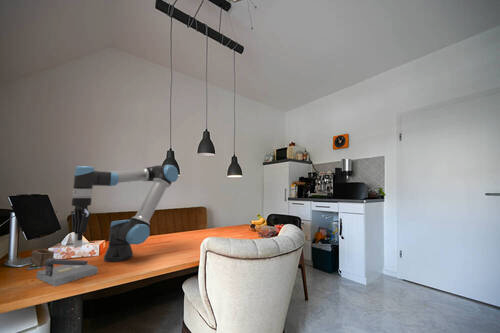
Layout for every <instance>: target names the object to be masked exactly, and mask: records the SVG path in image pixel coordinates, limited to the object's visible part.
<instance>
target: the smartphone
mask: <svg viewBox="0 0 500 333" xmlns="http://www.w3.org/2000/svg"><path fill="white" fill-rule="evenodd" d="M41 269H42V270H43V269H46V266H44V267H38V266H36V265H34V264H32V265H31V264H30V266H29V267H27V268H25V271H32V270H41Z"/></svg>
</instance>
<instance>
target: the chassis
mask: <svg viewBox="0 0 500 333" xmlns="http://www.w3.org/2000/svg"><path fill="white" fill-rule="evenodd" d="M54 265H55V264H52V265H47V266H46V268H44V269H42V270H41V269H40V270H37V272H36V277H35V278H36V279H38V280H40V281H43V282H44V283H47V284H49V285H51V286H53V287H58V286H61V285H64V284H65V285H66V284H68V283H71V282H74V280H75V281H77V280H76V279H78V280H80V279H79V278H81V279H83V278H82V277H85V278H87V277H86V276H88V277H90V275H91V276H94V275H97V274H98V272H99V267H97V266H95V265H91V264H89V263H87V265H85V266H81V265H58V266H57V265H56V266H54ZM96 273H97V274H96ZM93 274H94V275H93Z"/></svg>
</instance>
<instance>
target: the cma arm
mask: <svg viewBox="0 0 500 333" xmlns="http://www.w3.org/2000/svg"><path fill="white" fill-rule="evenodd" d="M52 264H54V265H58V266H62V265H81V266H85V265H87V264H89V263H88V260H83V259H82V260H80V259H79V260H77V259H58V258H54V257H53V258H51V259H47V260H46V264H45V265H52Z"/></svg>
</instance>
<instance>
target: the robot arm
mask: <svg viewBox="0 0 500 333" xmlns="http://www.w3.org/2000/svg"><path fill="white" fill-rule="evenodd" d="M73 178H74V179H73V187H72V188H73V190H72V191H71V193H72V197H73V198H72V199H71V206H72V207H74V210H72V211H71V212H70V214H71V231H72V232H73V233H74V237H73V249H74V248H75V249H76V248H82V245H83V238H84V237H83V236H84V235H83V234H84V233H87V228H88V224H89V220H90V219H89V218H90V216H91V214H92V213H91V212H90V211H88V210H89V208H88V207H89V206H91V205H92V197H93V186H97V187H98V186H99V187H103V186H105V187H113V186H117V185H118V184H120V183H127V182H128V183H129V182H139V181H142V182H153V184H152V185H151V187H150V189H149V191H148V193H147V195H146V196H145V198H144V199H143V201H142V203H141V206H140V207H139V209H138V211H137V212H136V213H135V215H134V216H132V217H131V218H130V219H122V220H121V219H120V220H114V221H111V222H110V227H109V235H108V236H109V237H108V246H107V249H106V251H105V254H104V255H103V256H104V257H103V261H105V262H107V263H108V262H109V263H115V262H116V263H117V262H118V263H119V262H123V261H127V260H130V259H132V258H133V255H134V254H133V249H132V245H140V244H143V243H144V242H145V241H147V240H148V238H149V236H150V234H151V231H150V230H151V229H150V225H151V223H150V221H151V218H152V217H153V215H154V213H155V210H156V209H157V207H158V205H159V203H160V201H161V199H162V197H163V196H164V194H165V192H166V189H167V188H170V187H171V185H172V183H174V182H176V181H177V180H178V179H179V171H178V169H177V167H176V166H175V165H174V164H173V165H172V164H165V165H153V166H149V167H142V168H141V169H125V170H109V171H108V170H107V171H98V170H95V167H93V166H91V165H90V166H87V165H78V166H76V167H75V170H74V177H73Z"/></svg>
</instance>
